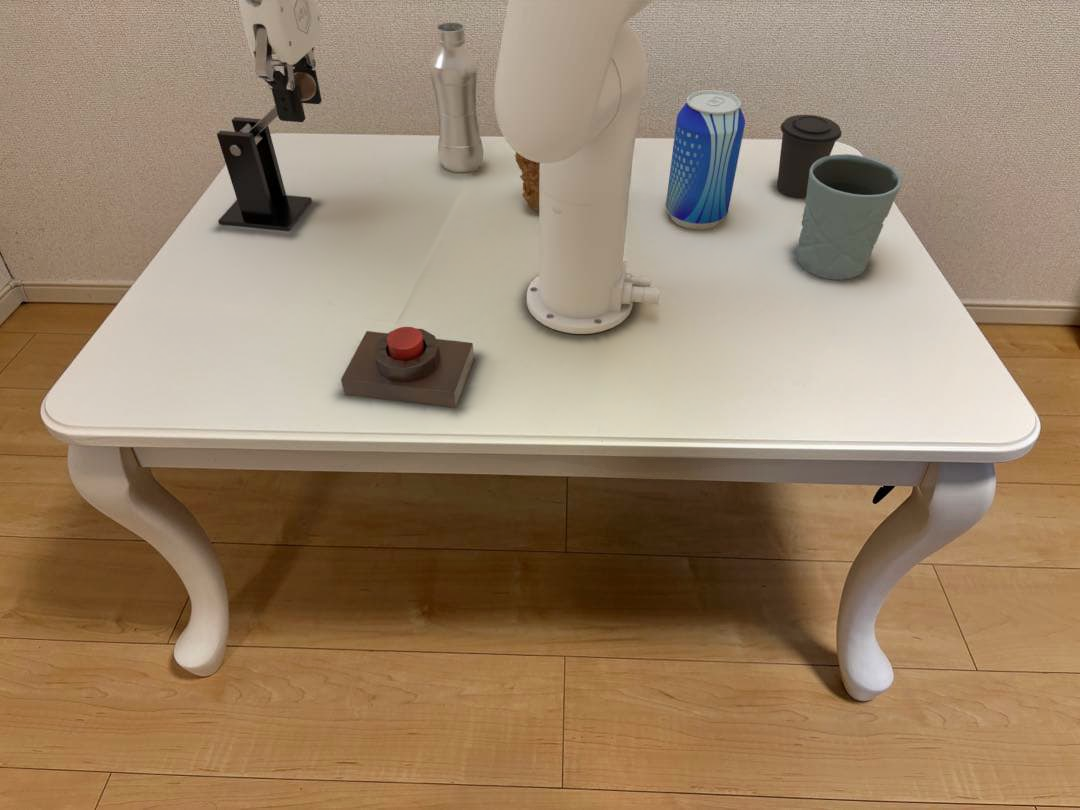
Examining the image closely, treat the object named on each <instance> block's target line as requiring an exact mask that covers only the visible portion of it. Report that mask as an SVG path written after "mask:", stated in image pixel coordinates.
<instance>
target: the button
mask: <svg viewBox="0 0 1080 810" xmlns="http://www.w3.org/2000/svg"><path fill="white" fill-rule="evenodd" d="M418 329H419V328H417V329H416V327H413V326H401V327H397V328H395V329H393V330H391V331H392V332H391V331H390V332H391V333H390V334H389V335H388V337H387V343H388V348H389V354H390V356H391V357H392V358H393V359H395V360H400V361H409V360H413V359H417V358H418V357H420V356H421V355H422V354H423V352H424V344H423V337H422V333H421V332H420V331H419V330H418Z"/></svg>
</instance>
